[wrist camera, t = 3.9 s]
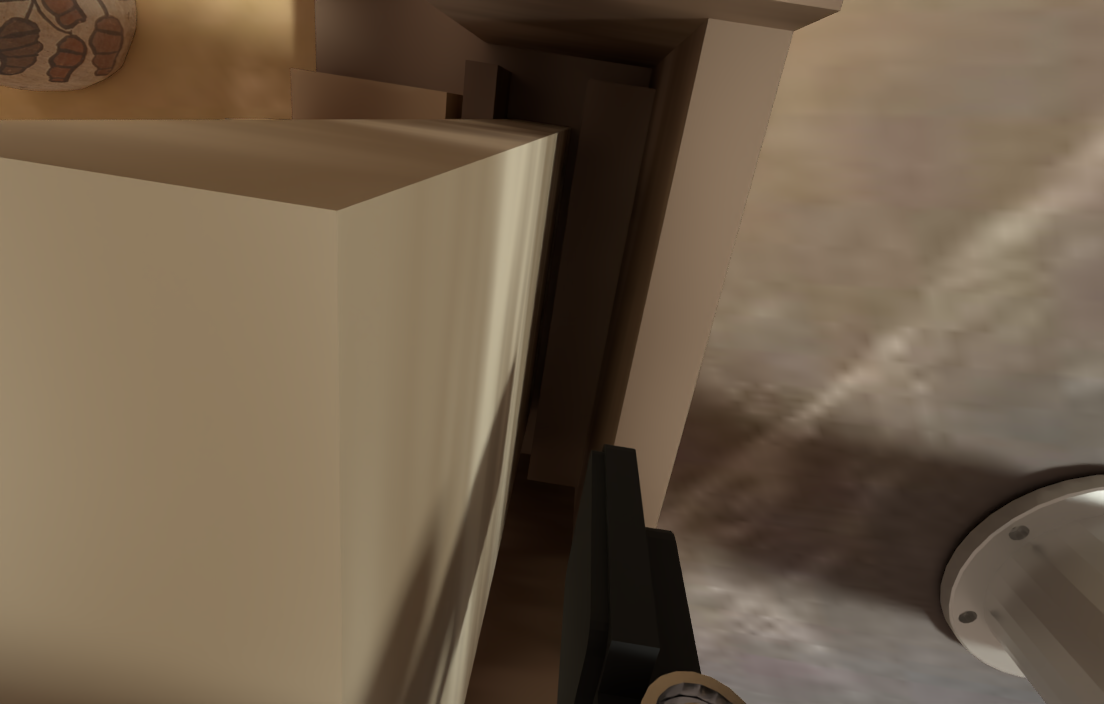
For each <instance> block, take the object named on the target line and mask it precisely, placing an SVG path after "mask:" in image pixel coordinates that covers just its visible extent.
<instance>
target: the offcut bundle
mask: <svg viewBox="0 0 1104 704" xmlns="http://www.w3.org/2000/svg"><path fill="white" fill-rule="evenodd" d="M290 71H291V96H292V120H295V119H461V117H462V103H463V95H459V94H454V93H448V92H442V91H435V90H429V89H423V88H416V87H410V86H403V85H397V84H391V83H384V82H378V81H372V80H365V79H359V78H352V77H346V76H340V75H333V74H327V73H321V72H314V71H308V70H301V69H295V68H290ZM225 120H276V119H269V118H225Z"/></svg>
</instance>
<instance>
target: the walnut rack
mask: <svg viewBox="0 0 1104 704" xmlns="http://www.w3.org/2000/svg"><path fill="white" fill-rule="evenodd" d="M842 3H843V0H315V30H316V72H321V73H327V74H333V75H340V76H346V77H352V78H359V79H365V80H372V81H378V82H384V83H391V84H397V85H403V86H410V87H416V88H423V89H429V90H435V91H442V92H448V93H454V94H459V95H463V103H462V117H461V119H519V120H526V121H532V122H538V123H545V124H551V125H557V126H564V127H570V128H571V134H570V140H569V147H568V154H567V161H566V168H565V175H564V181H563V188H562V195H561V202H560V209H559V216H558V223H557V229H556V236H555V243H554V250H553V257H552V264H551V270H550V277H549V284H548V291H547V298H546V305H545V311H544V318H543V325H542V332H541V339H540V346H539V352H538V359H537V366H536V373H535V380H534V387H533V393H532V400H531V407H530V413H529V417H528V422H527V426H526V431H525V435H524V440H523V444H522V449H521V453H520V458H519V462H518V466H517V471H516V475H515V480H514V484H513V489H512V493H511V498H510V502H509V507H508V511H507V515H506V520H505V524H504V529H503V533H502V538H501V542H500V547H499V551H498V556H497V560H496V565H495V569H494V573H493V578H492V582H491V587H490V591H489V596H488V600H487V605H486V609H485V614H484V618H483V622H482V627H481V631H480V636H479V640H478V645H477V649H476V654H475V658H474V663H473V667H472V672H471V676H470V680H469V685H468V689H467V694H466V698H465V703H464V704H557V696H558V680H559V665H560V650H561V635H562V620H563V604H564V589H565V578H566V571H567V565H568V560H569V555H570V550H571V545H572V540H573V535H574V530H575V525H576V520H577V515H578V511H579V506H580V501H581V496H582V491H583V486H584V481H585V476H586V471H587V466H588V461H589V456H590V453H591V450H595V451H601V452H602V449H603V445H604V444H609V445H615V446H621V447H627V448H633V449H635V450H636V456H637V464H638V472H639V480H640V489H641V497H642V505H643V513H644V521H645V527H649V528H655V529H656V527H657V523H658V520H659V516H660V512H661V509H662V505H663V502H664V498H665V494H666V491H667V487H668V483H669V480H670V476H671V473H672V469H673V465H674V462H675V458H676V455H677V451H678V447H679V444H680V440H681V436H682V433H683V429H684V426H685V422H686V418H687V415H688V411H689V408H690V404H691V400H692V397H693V393H694V389H695V386H696V382H697V379H698V375H699V371H700V368H701V364H702V361H703V357H704V353H705V350H706V346H707V343H708V339H709V335H710V332H711V328H712V324H713V321H714V317H715V314H716V310H717V306H718V303H719V299H720V296H721V292H722V288H723V285H724V281H725V277H726V274H727V270H728V267H729V263H730V259H731V256H732V252H733V249H734V245H735V241H736V238H737V234H738V231H739V227H740V223H741V220H742V216H743V212H744V209H745V205H746V202H747V198H748V194H749V191H750V187H751V184H752V180H753V176H754V173H755V169H756V165H757V162H758V158H759V155H760V151H761V147H762V144H763V140H764V137H765V133H766V129H767V126H768V122H769V118H770V115H771V111H772V108H773V104H774V100H775V97H776V93H777V90H778V86H779V82H780V79H781V75H782V72H783V68H784V64H785V61H786V57H787V53H788V50H789V46H790V43H791V39H792V35H793V32H794V31H795V30H798V29H800V28H802V27H804V26H807V25H809V24H811V23H813V22H816V21H818V20H820V19H822V18H825V17H827V16H829V15H832V14H834V13H836V12H838V11H840V10H841V6H842Z"/></svg>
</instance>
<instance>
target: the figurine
mask: <svg viewBox="0 0 1104 704" xmlns="http://www.w3.org/2000/svg"><path fill="white" fill-rule="evenodd" d="M136 21H137V18H136V2H135V0H0V85H2V86H7V87H11V88H17V89H24V90H31V91H64V90H80V89H83V88H86V87H88V86H90V85H93V84H95V83H97V82H99V81H102V80H104V79H106V78H108V77H109V76H111V75H112V74H113V73H114V72H116V71H117V70H118V69H120V68H121V67H122V65H123V63H124V60H125V58H126V55H127V53H128V50H129V48H130V45H131V42H132V39H133V36H134V33H135V30H136Z"/></svg>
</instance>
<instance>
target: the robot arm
mask: <svg viewBox="0 0 1104 704" xmlns="http://www.w3.org/2000/svg"><path fill="white" fill-rule="evenodd" d="M940 603H941V607H942V611H943V615H944V618H945V620H946V622H947V623H948V625H949V626H950V628H951V630H952V631H953V633H954V634H955V636H956V637H957V639H958V640H959V641H960V642H961V644H962V645H963V646H964V647H965V649H966V650H967V651H968V652H969V653H970V654H972V655H973V656H974V657H976V658H977V659H978V660H980V661H981V662H982V663H984V664H986V665H988V666H991V667H993V668H995V669H997V670H999V671H1002V672H1005V673H1009V674H1012V675H1016V676H1019V677H1024V678H1027V679H1028V681H1029V682H1030V683H1031V684H1032V686H1033V687H1034V688H1035V690H1036V691H1037V692H1038V694H1039V695H1040V696H1041V697H1042V699H1043V700H1044V701H1045V703H1046V704H1104V475H1094V476H1088V477H1082V478H1076V479H1071V480H1066V481H1063V482H1059V483H1056V484H1053V485H1050V486H1046V487H1043V488H1040V489H1037V490H1035V491H1033V492H1031V493H1028V494H1026V495H1024V496H1022V497H1020V498H1018V499H1015V500H1013V501H1011V502H1010V503H1008V504H1007V505H1005V506H1004V507H1002V508H1000V509H999V510H997V511H996V512H994V513H992V514H991V515H989V516H988V517H987V518H986V519H985V520H984V521H982V522H981V523H980V524H979V525H978V526H977V527H975V528H974V529H973V530H972V531H971V532H970V533H969V534H968V535H967V537H966V538H965V539H964V540H963V541H962V543H961V544H960V545H959V546H958V547H957V549H956V550H955V552H954V554H953V555H952V557H951V559H950V561H949V563H948V564H947V566H946V569H945V572H944V575H943V579H942V582H941V591H940ZM557 704H746V703H745V702H744V701H743V700H742V699H741V698H740V697H739V696H738V695H736V694H735V693H734V692H733V691H732V690H731V689H730V688H729V687H727V686H725V685H724V684H722V683H720V682H719V681H717V680H715V679H713V678H712V677H709V676H706V675H702V674H701V671H700V666H699V661H698V655H697V650H696V645H695V640H694V634H693V629H692V624H691V619H690V613H689V608H688V603H687V598H686V592H685V587H684V582H683V577H682V571H681V566H680V561H679V556H678V550H677V545H676V540H675V537H674V534H673V533H672V532H671V531H667V530H661V529H655V528H649V527H645V521H644V513H643V505H642V497H641V489H640V480H639V472H638V464H637V456H636V450H635V449H633V448H627V447H621V446H615V445H609V444H604V445H603V449H602V452H601V451H595V450H591V453H590V456H589V461H588V466H587V471H586V476H585V481H584V486H583V491H582V496H581V501H580V506H579V511H578V515H577V520H576V525H575V530H574V535H573V540H572V545H571V550H570V555H569V560H568V565H567V571H566V578H565V589H564V604H563V620H562V635H561V650H560V665H559V680H558V696H557Z"/></svg>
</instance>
